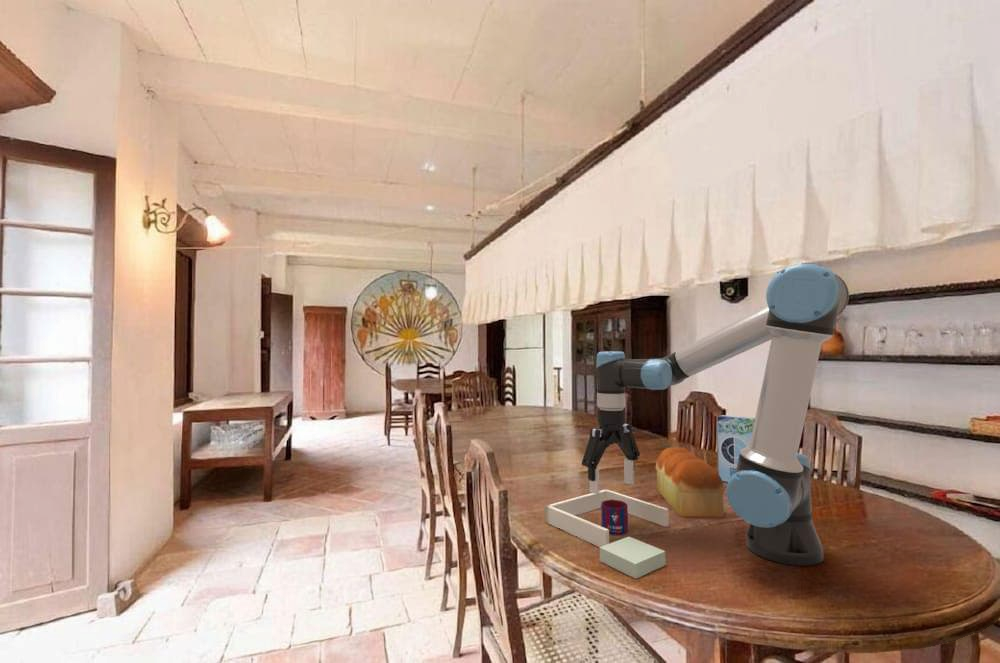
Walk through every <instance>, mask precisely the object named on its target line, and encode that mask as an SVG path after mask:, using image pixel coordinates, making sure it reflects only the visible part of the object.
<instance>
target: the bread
mask: <svg viewBox="0 0 1000 663" xmlns="http://www.w3.org/2000/svg"><path fill="white" fill-rule="evenodd" d="M655 470H656V485H657V486H656V487H657V488H656V489H657V491H658V493H660V495H661V496H662V497H663V498H664V499H665V501H666V502H667V503H668V504H669V505H670V506H671V507H672V509H673V510H674V511H675V512H676V513H677V514H678V516H680V517H683V518H684V517H685V518H686V517H690V518H691V517H694V518H695V517H697V518H698V517H699V518H702V517H703V518H706V517H707V518H709V517H711V518H717V517H718V518H724V517H725V515H724V514H725V513H724V492H726V490H725V487H724V484H723V481H722V479H721V477H720V476H719V472H717V471H716V469H715V468H713V467H712V466H711V465H710V464H709V463H707V462H706V461H705V460H703V459H702V458H699V457H697V456H696V455H695V454H693V453H692V452H690V451H689V450H688V449H686V448H685V447H683V446H681V447H679V446H675V447H674V446H672V447H671V446H669V447H667V448H665V449H664V450H662V451H661V452H660V453H659V455H658V456H657V458H656V462H655Z"/></svg>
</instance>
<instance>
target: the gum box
mask: <svg viewBox="0 0 1000 663" xmlns="http://www.w3.org/2000/svg"><path fill="white" fill-rule="evenodd" d="M716 419H717V421H716V422H717V454H718V455H717V457H718V464H717V465H718V475H719V476H720V477H721V479H722V482H726V483H728V482H729V480H730V478H731V477H732V475H733V474H735V473H736V468H737V464H738V459H739V454H740V450H741V449H743V448H745V447H747V446H749V445H750V441H751V436H752V431H753V427H754V422H755V417H746V416H737V415H726V414H725V415H724V414H722V415H717V417H716Z"/></svg>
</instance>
